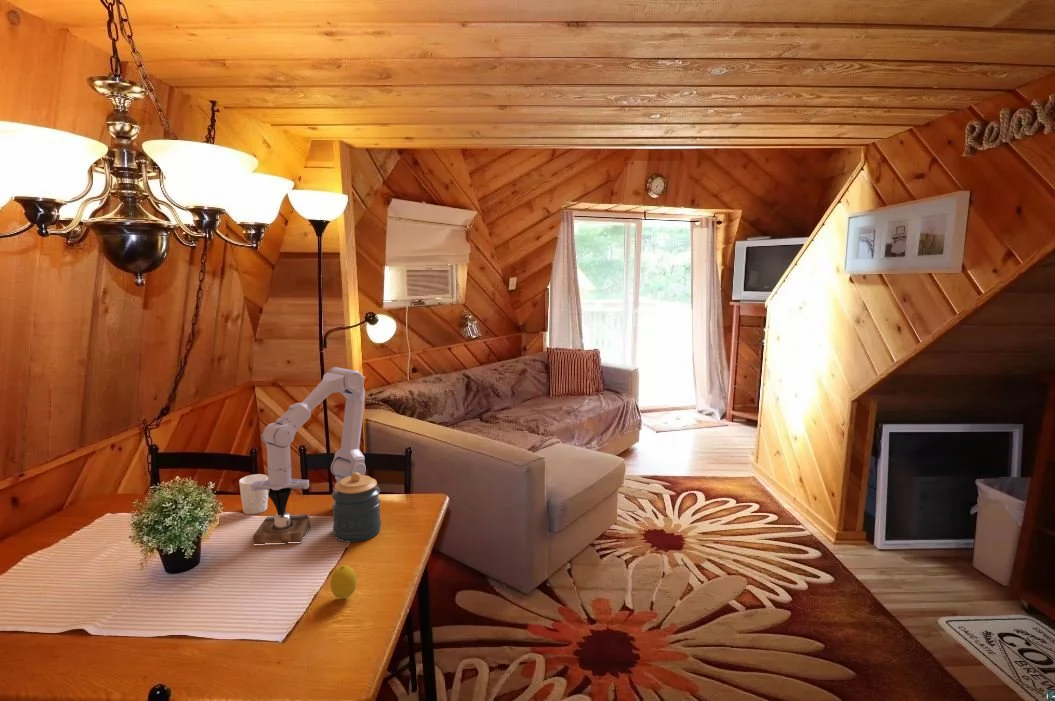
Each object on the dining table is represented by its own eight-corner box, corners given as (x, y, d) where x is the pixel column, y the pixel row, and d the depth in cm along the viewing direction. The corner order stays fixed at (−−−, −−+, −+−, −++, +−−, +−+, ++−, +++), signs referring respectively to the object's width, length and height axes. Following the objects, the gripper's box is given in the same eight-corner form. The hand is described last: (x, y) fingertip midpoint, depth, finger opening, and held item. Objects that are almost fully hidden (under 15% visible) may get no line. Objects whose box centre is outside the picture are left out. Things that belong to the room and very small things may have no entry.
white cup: (235, 513, 162) (233, 481, 161) (255, 502, 170) (253, 472, 168) (256, 517, 160) (254, 485, 159) (275, 506, 167) (273, 475, 166)
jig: (310, 526, 155) (309, 514, 155) (300, 543, 145) (300, 531, 145) (266, 528, 153) (265, 516, 153) (253, 546, 143) (252, 533, 143)
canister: (367, 545, 145) (365, 483, 142) (323, 540, 147) (321, 478, 145) (389, 524, 157) (387, 466, 155) (348, 519, 160) (346, 462, 157)
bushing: (292, 531, 152) (291, 511, 151) (289, 538, 148) (288, 517, 147) (277, 532, 151) (276, 512, 150) (273, 539, 147) (272, 518, 146)
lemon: (359, 591, 124) (358, 559, 123) (352, 606, 119) (351, 572, 117) (335, 591, 124) (334, 559, 123) (327, 606, 118) (326, 572, 117)
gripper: (245, 473, 141) (248, 521, 143) (303, 471, 144) (305, 518, 145) (255, 463, 148) (257, 510, 150) (310, 461, 150) (312, 507, 152)
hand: (281, 513), depth 148 cm, fingers closed
